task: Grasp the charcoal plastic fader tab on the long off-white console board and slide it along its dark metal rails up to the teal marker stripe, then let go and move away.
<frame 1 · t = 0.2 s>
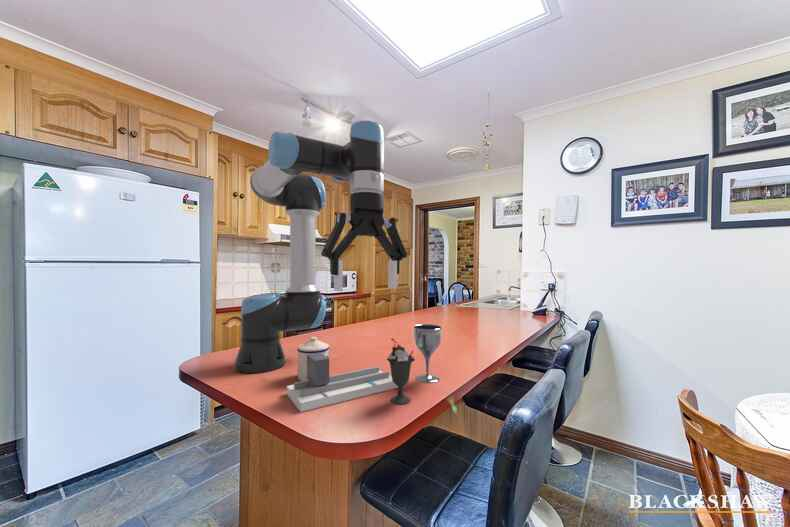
hand: (366, 289, 70), 27 cm above the table, fingers open, 13 cm apart
console: (343, 390, 83), on the table
fader tab: (317, 372, 79), point 6 cm above the table, slide at -7.0 cm
teacup with lid: (316, 376, 94), on the table
wine glass: (427, 379, 92), on the table
sundae: (400, 401, 77), on the table
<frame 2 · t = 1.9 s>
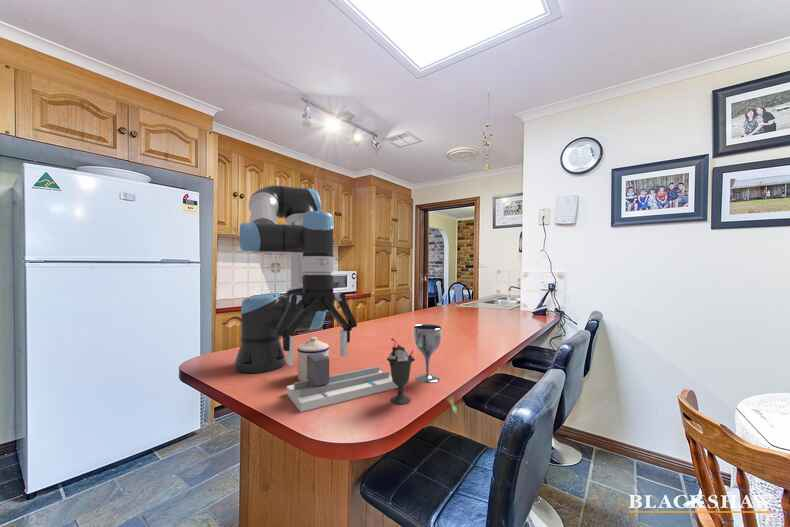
hand: (318, 360, 78), 9 cm above the table, fingers open, 13 cm apart
nothing on the table moved.
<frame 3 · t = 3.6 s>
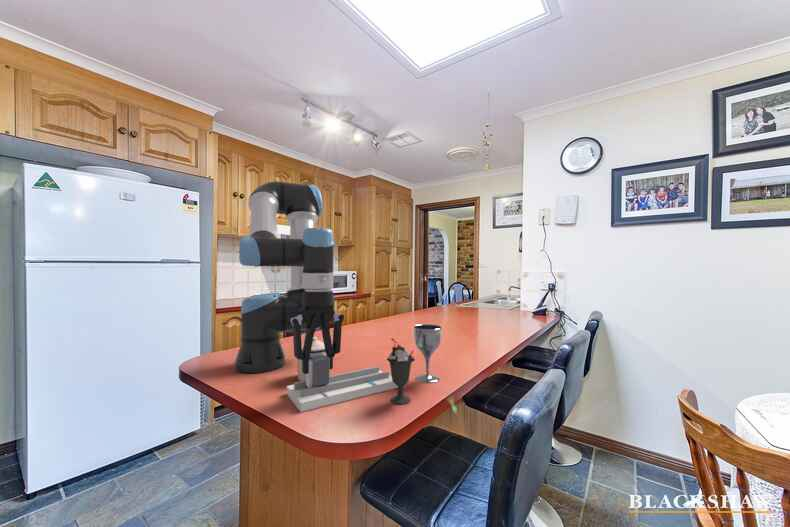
hand: (317, 384, 79), 3 cm above the table, fingers closed on fader tab, 4 cm apart
fader tab: (317, 372, 79), point 6 cm above the table, slide at -7.0 cm, touching gripper
everything else where it was.
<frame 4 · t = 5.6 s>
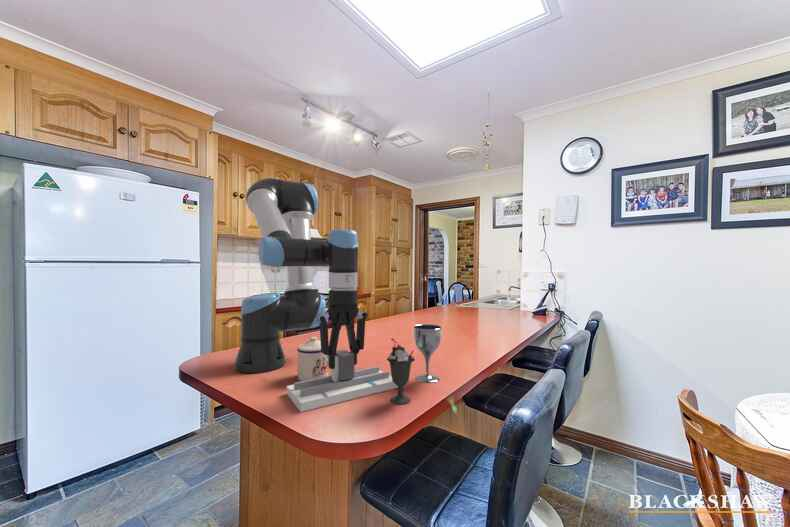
hand: (342, 378, 82), 3 cm above the table, fingers closed on fader tab, 4 cm apart
fader tab: (342, 367, 82), point 6 cm above the table, slide at -0.2 cm, touching gripper
everything else where it was.
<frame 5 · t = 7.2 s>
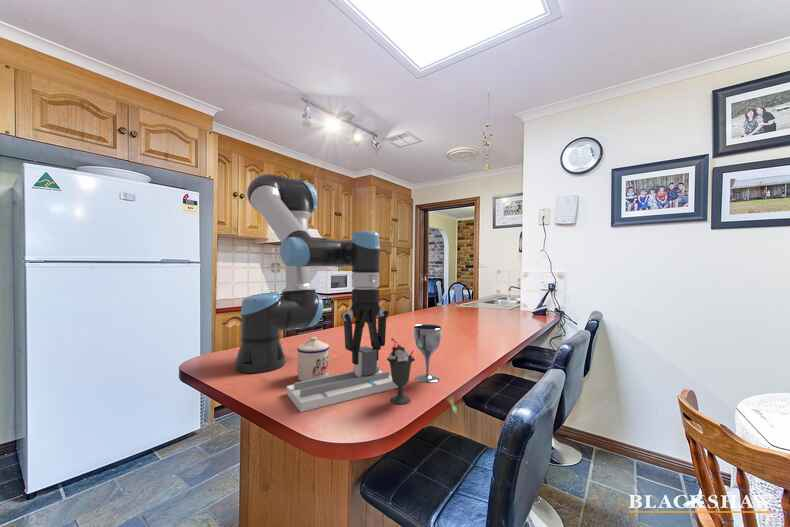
hand: (365, 374, 86), 3 cm above the table, fingers closed on fader tab, 4 cm apart
fader tab: (365, 363, 86), point 6 cm above the table, slide at 6.4 cm, touching gripper
everything else where it was.
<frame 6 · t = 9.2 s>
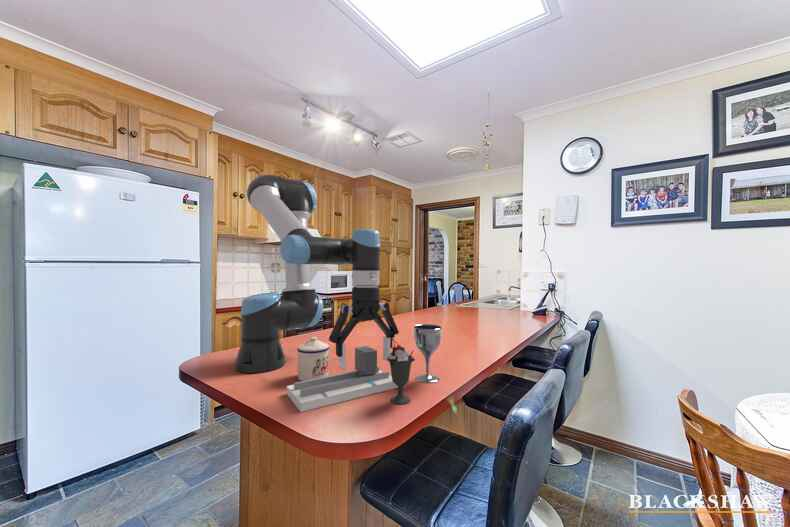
hand: (365, 364, 86), 6 cm above the table, fingers open, 13 cm apart
fader tab: (365, 363, 86), point 6 cm above the table, slide at 6.5 cm
everything else where it was.
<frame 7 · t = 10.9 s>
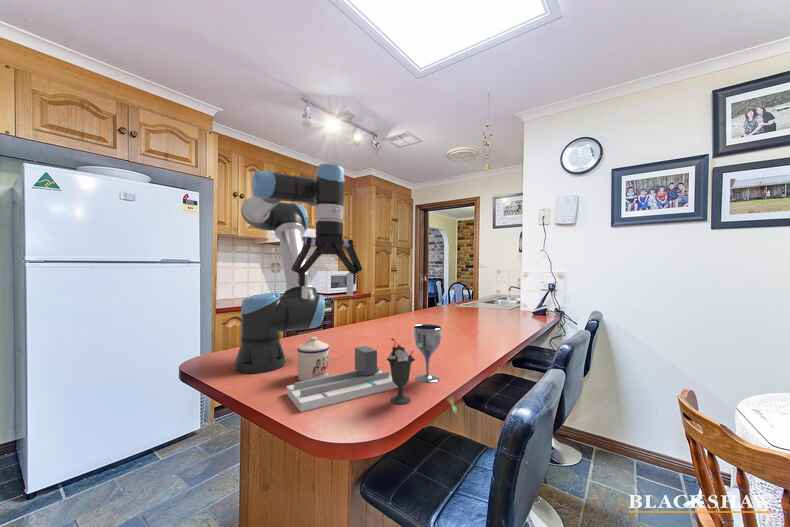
hand: (328, 297, 89), 24 cm above the table, fingers open, 13 cm apart
nothing on the table moved.
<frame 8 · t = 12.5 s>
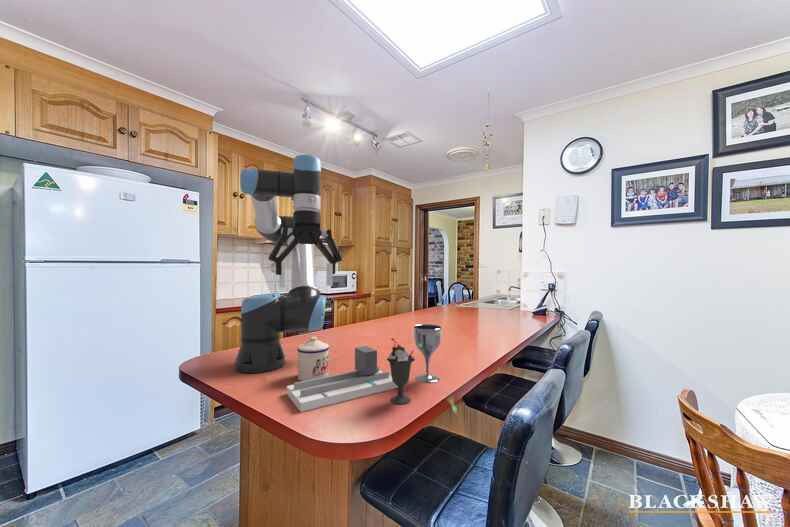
hand: (306, 286, 90), 27 cm above the table, fingers open, 13 cm apart
nothing on the table moved.
at the end: fader tab slide at 6.5 cm; the gripper is holding nothing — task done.
